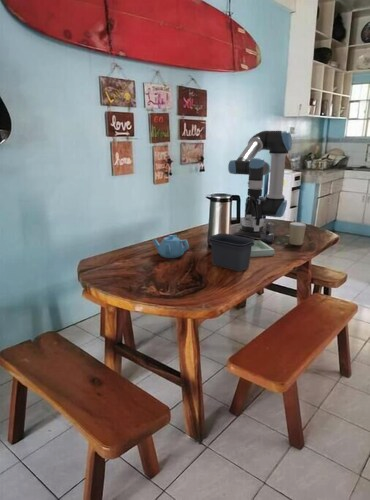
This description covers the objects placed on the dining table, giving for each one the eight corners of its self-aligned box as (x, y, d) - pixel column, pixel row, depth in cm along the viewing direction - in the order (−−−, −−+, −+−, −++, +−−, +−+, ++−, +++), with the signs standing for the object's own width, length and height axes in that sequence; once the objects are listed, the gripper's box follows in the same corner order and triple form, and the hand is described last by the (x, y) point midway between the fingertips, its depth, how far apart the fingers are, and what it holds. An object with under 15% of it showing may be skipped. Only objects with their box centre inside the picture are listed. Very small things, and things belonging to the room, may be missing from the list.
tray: (229, 247, 213) (229, 241, 212) (259, 245, 217) (260, 240, 216) (240, 257, 195) (241, 251, 194) (274, 255, 199) (274, 249, 198)
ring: (239, 223, 205) (239, 217, 204) (257, 222, 208) (258, 216, 207) (246, 227, 195) (247, 221, 194) (266, 227, 197) (266, 220, 196)
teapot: (166, 261, 188) (166, 240, 185) (151, 253, 200) (151, 234, 197) (190, 256, 196) (191, 236, 193) (175, 249, 208) (175, 230, 205)
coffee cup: (302, 241, 226) (304, 222, 223) (305, 245, 217) (307, 225, 214) (286, 240, 227) (288, 221, 223) (289, 245, 218) (291, 225, 215)
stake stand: (258, 240, 227) (259, 222, 224) (270, 239, 229) (271, 221, 226) (263, 244, 220) (265, 225, 216) (275, 243, 222) (277, 224, 218)
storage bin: (204, 264, 184) (205, 237, 179) (222, 257, 195) (223, 231, 190) (240, 275, 170) (242, 245, 166) (258, 267, 181) (260, 239, 177)
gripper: (240, 185, 206) (238, 224, 212) (257, 191, 184) (254, 234, 190) (253, 185, 207) (250, 223, 214) (271, 191, 185) (267, 233, 192)
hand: (252, 228), depth 202 cm, fingers closed on ring, 11 cm apart
